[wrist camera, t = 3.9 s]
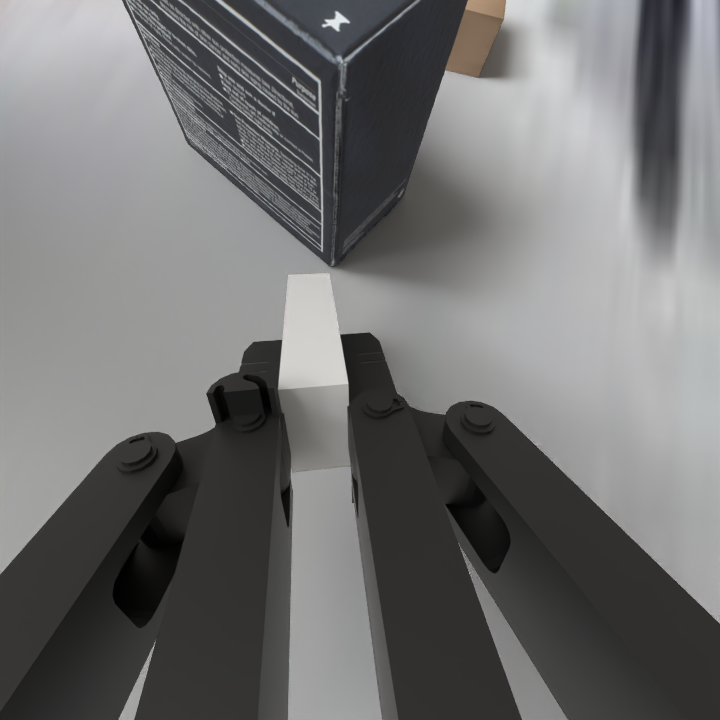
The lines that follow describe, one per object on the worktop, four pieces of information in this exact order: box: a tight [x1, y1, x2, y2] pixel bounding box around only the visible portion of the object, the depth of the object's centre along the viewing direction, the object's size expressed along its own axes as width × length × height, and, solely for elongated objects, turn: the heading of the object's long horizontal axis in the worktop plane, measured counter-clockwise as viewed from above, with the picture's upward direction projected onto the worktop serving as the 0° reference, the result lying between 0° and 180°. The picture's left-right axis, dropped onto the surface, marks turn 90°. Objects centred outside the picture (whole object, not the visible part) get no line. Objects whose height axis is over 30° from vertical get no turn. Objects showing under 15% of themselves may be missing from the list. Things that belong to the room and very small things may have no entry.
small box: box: [122, 0, 468, 266], centre depth 14 cm, size 11×6×10 cm, turn 49°
